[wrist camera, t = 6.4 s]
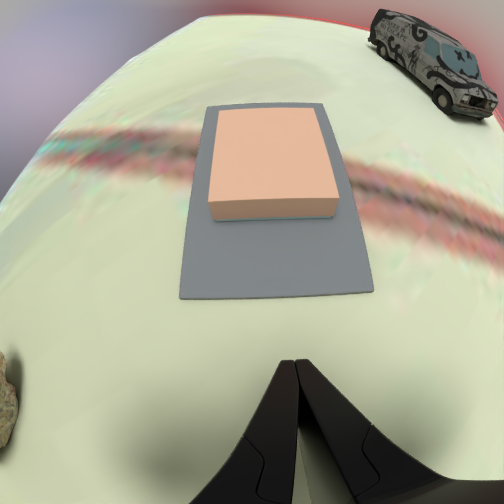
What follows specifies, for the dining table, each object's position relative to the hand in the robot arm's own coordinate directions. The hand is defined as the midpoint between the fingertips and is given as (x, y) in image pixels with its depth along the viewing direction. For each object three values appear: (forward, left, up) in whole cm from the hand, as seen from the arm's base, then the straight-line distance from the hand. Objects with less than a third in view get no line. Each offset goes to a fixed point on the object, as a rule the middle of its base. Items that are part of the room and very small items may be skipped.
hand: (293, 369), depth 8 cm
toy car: (+9, -46, -7) cm, 48 cm away
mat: (+10, -10, -7) cm, 16 cm away
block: (+7, -7, -5) cm, 11 cm away
